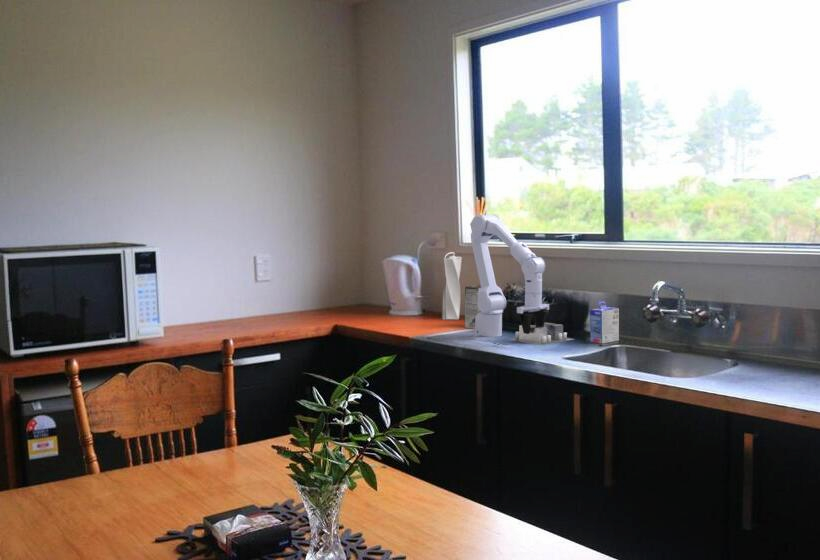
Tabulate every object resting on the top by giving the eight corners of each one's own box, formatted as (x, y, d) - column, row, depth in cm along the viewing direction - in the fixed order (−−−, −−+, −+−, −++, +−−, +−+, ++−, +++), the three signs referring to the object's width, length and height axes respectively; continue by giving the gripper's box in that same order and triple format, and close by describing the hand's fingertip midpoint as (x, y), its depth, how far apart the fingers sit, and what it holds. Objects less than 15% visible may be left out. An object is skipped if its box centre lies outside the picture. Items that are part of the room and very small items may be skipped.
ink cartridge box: (606, 341, 277) (606, 299, 276) (619, 343, 273) (620, 301, 271) (588, 344, 271) (589, 302, 269) (602, 346, 266) (603, 303, 265)
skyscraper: (442, 317, 338) (442, 252, 335) (461, 317, 337) (462, 252, 335) (441, 320, 330) (441, 253, 327) (461, 320, 329) (461, 253, 326)
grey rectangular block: (519, 339, 274) (519, 325, 273) (526, 338, 276) (527, 324, 276) (539, 343, 267) (539, 328, 267) (546, 341, 270) (547, 327, 269)
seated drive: (535, 337, 279) (535, 322, 279) (542, 335, 282) (542, 321, 281) (555, 340, 273) (555, 325, 272) (562, 339, 275) (562, 324, 275)
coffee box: (476, 324, 315) (476, 284, 314) (490, 326, 311) (490, 285, 310) (464, 327, 308) (464, 286, 306) (478, 329, 304) (478, 287, 302)
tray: (507, 342, 275) (507, 332, 274) (541, 336, 286) (541, 327, 286) (541, 348, 263) (541, 337, 263) (575, 342, 275) (575, 332, 275)
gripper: (528, 295, 262) (527, 336, 264) (556, 292, 272) (555, 331, 273) (512, 293, 268) (511, 333, 269) (540, 290, 277) (539, 329, 278)
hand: (532, 332), depth 271 cm, fingers open, 6 cm apart
